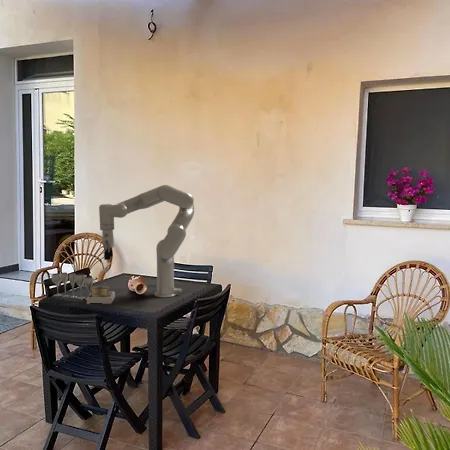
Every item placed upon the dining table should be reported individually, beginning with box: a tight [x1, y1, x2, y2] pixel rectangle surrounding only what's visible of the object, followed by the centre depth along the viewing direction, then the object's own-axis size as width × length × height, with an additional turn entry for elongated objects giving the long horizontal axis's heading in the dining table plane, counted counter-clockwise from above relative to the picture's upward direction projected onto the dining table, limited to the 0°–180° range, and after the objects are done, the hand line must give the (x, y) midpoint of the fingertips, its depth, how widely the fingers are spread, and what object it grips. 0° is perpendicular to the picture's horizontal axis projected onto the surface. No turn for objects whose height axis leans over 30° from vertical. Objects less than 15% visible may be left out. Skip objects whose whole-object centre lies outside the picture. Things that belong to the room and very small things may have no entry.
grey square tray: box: [86, 291, 116, 305], centre depth 245 cm, size 13×13×3 cm
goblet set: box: [51, 272, 94, 301], centre depth 250 cm, size 28×6×13 cm, turn 64°
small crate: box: [90, 286, 110, 297], centre depth 244 cm, size 9×7×6 cm
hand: (108, 258), depth 250 cm, fingers open, 9 cm apart
